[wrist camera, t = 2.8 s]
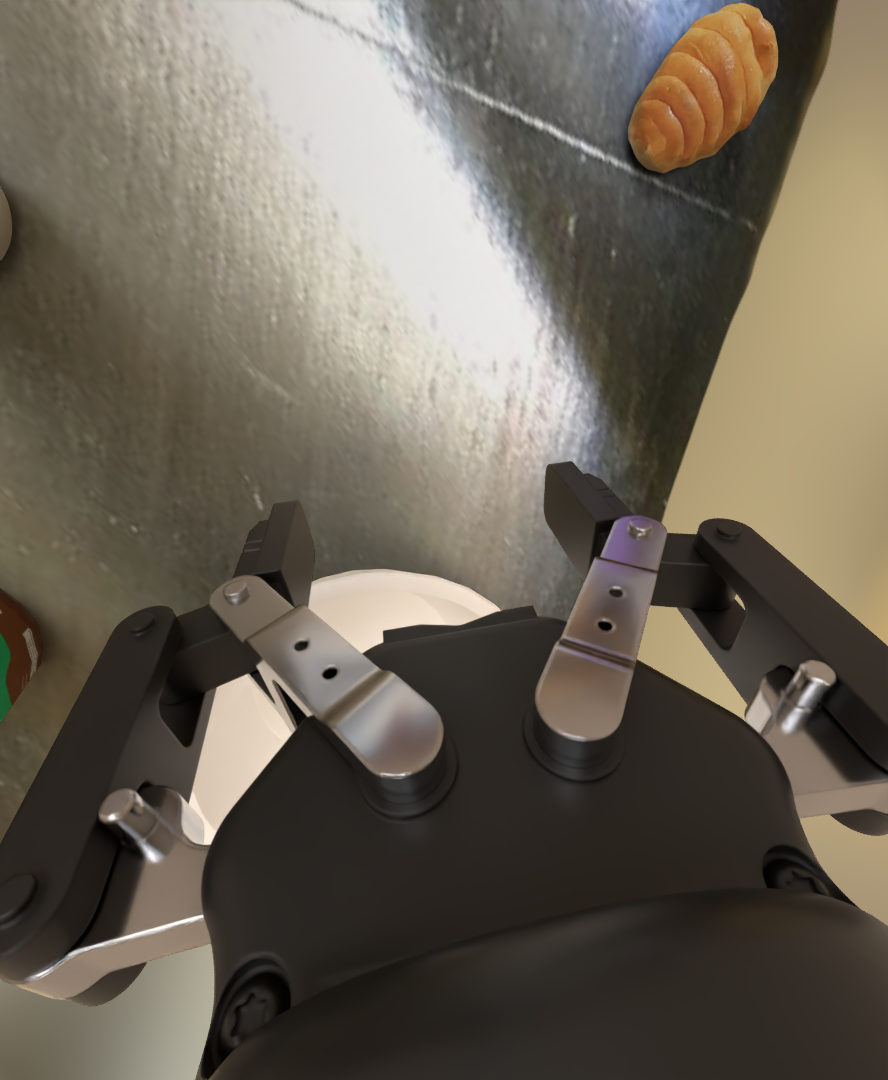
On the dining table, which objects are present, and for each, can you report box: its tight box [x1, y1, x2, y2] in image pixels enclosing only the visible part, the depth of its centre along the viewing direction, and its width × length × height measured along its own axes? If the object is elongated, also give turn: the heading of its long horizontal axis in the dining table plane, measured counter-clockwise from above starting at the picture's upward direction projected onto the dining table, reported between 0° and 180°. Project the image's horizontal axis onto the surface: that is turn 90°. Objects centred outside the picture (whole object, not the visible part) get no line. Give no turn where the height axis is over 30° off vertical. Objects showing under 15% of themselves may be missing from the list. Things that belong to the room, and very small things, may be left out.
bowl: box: [189, 569, 501, 845], centre depth 31 cm, size 22×22×8 cm
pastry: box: [628, 3, 778, 173], centre depth 28 cm, size 9×7×4 cm
